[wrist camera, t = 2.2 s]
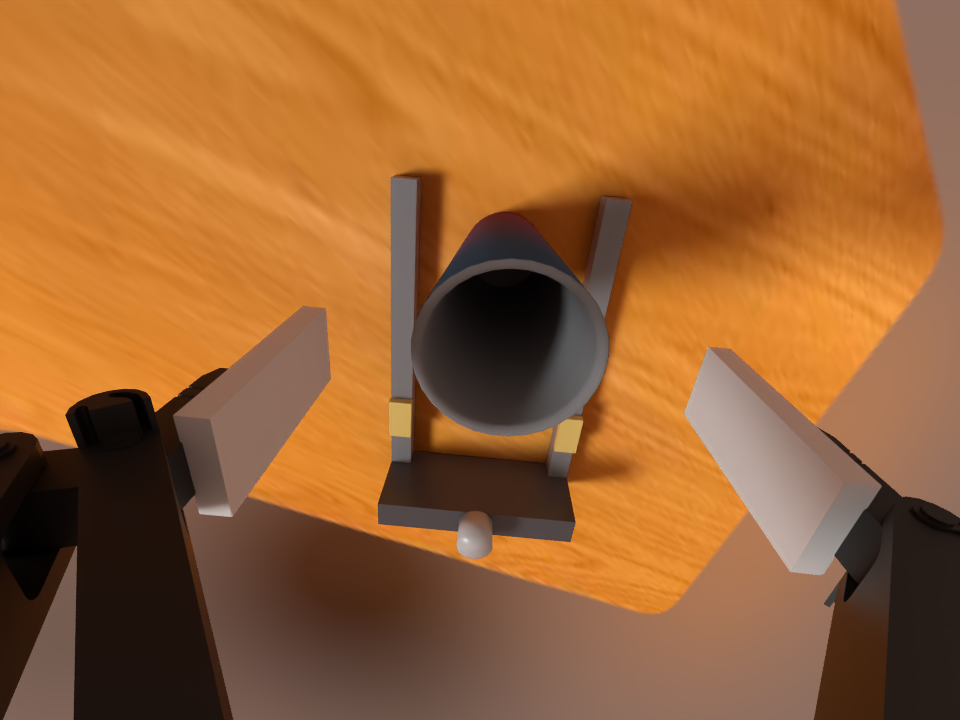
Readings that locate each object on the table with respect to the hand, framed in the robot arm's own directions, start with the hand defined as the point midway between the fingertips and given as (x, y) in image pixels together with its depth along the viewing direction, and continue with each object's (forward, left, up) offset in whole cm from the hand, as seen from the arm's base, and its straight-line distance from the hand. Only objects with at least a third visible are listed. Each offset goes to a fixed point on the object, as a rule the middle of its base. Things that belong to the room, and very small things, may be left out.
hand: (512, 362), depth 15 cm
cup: (0, 0, -15) cm, 15 cm away
